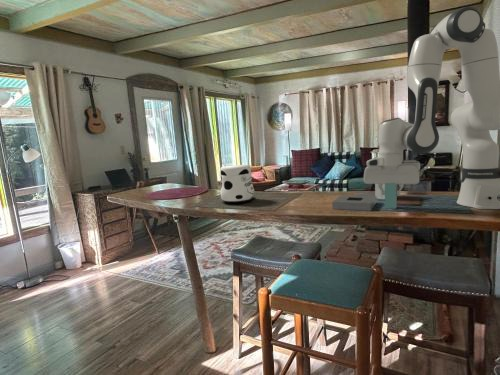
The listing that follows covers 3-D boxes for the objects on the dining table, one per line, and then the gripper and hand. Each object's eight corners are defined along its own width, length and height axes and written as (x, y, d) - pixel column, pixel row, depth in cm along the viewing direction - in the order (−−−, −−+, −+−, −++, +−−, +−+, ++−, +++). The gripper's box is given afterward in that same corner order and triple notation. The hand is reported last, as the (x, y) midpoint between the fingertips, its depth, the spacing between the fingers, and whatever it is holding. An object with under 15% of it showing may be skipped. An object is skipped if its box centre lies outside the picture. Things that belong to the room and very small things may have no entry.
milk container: (260, 201, 160) (257, 165, 157) (227, 206, 153) (224, 169, 150) (247, 196, 175) (245, 163, 173) (217, 201, 169) (214, 167, 166)
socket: (376, 202, 139) (376, 196, 138) (370, 210, 126) (370, 203, 126) (341, 201, 146) (341, 195, 146) (332, 209, 134) (332, 202, 133)
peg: (396, 206, 130) (396, 182, 128) (395, 208, 126) (395, 183, 125) (386, 206, 132) (386, 182, 130) (384, 208, 128) (384, 183, 127)
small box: (387, 200, 143) (387, 171, 141) (374, 198, 148) (374, 170, 146) (397, 197, 147) (397, 168, 145) (385, 195, 152) (385, 168, 150)
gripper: (420, 158, 124) (420, 194, 126) (365, 160, 134) (365, 192, 136) (420, 160, 118) (419, 197, 120) (362, 161, 129) (363, 195, 131)
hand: (390, 194), depth 128 cm, fingers closed on peg, 4 cm apart
